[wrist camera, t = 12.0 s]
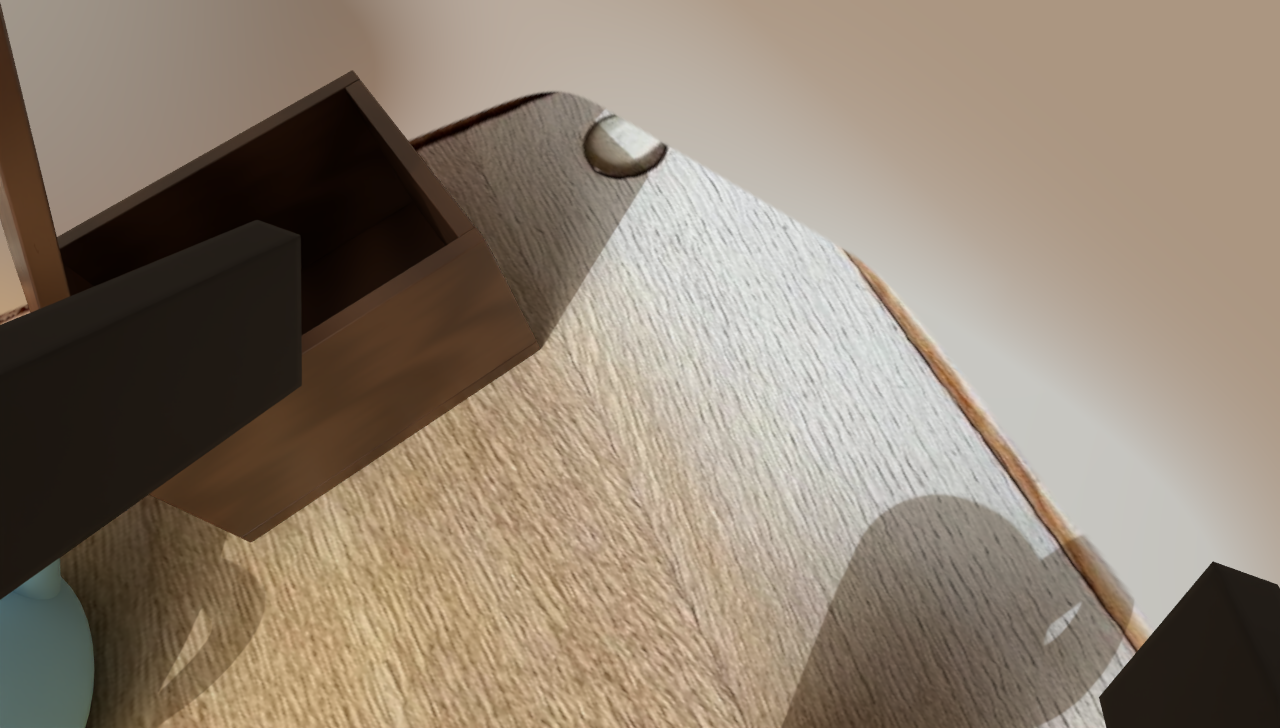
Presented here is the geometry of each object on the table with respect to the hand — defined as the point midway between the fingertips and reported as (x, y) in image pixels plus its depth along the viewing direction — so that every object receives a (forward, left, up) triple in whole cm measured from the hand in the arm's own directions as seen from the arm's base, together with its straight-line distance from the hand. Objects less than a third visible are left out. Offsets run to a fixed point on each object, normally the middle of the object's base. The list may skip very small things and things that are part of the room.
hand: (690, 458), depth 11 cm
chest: (+7, -23, -22) cm, 32 cm away
